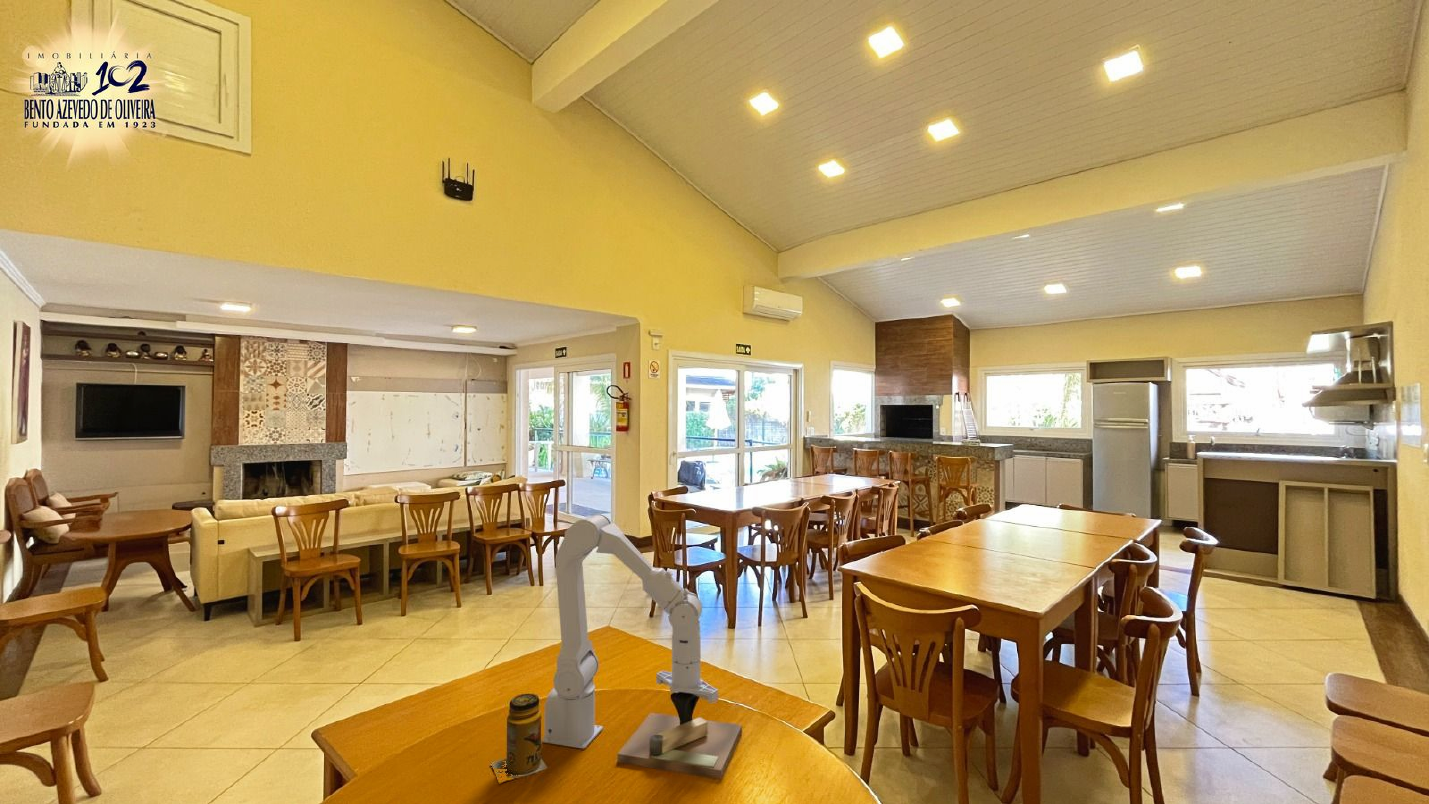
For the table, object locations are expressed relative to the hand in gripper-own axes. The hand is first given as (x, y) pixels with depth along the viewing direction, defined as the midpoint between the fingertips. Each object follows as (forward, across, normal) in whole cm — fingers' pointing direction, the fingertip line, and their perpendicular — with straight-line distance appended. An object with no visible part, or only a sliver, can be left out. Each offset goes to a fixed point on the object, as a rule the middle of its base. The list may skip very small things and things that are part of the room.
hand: (686, 729), depth 110 cm
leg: (+1, +1, -4) cm, 4 cm away
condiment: (+3, -20, -24) cm, 32 cm away
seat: (+3, 0, -2) cm, 3 cm away
